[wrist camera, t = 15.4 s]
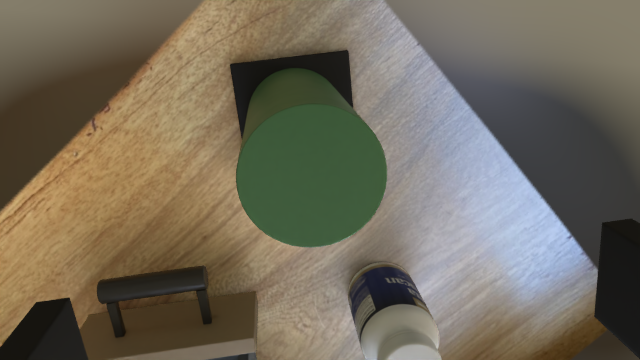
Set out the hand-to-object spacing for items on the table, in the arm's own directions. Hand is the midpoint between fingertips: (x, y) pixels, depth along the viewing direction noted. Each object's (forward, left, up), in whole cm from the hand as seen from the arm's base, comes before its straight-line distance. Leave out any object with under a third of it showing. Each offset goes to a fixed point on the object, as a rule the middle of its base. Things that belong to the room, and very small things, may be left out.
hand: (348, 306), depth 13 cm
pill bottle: (-5, +15, -25) cm, 29 cm away
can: (0, 0, -24) cm, 24 cm away
